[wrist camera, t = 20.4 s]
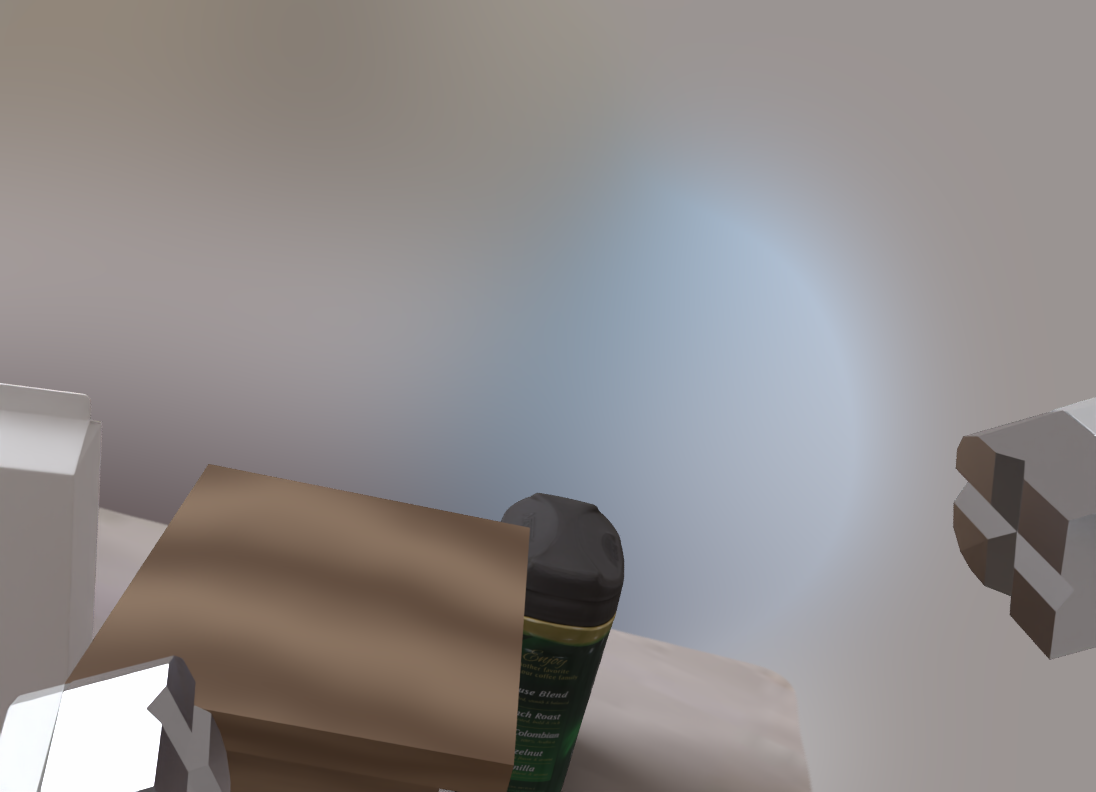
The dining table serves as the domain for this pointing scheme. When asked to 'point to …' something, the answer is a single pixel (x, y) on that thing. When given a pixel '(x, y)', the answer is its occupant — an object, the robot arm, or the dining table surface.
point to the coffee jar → (561, 630)
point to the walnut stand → (334, 635)
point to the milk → (46, 536)
